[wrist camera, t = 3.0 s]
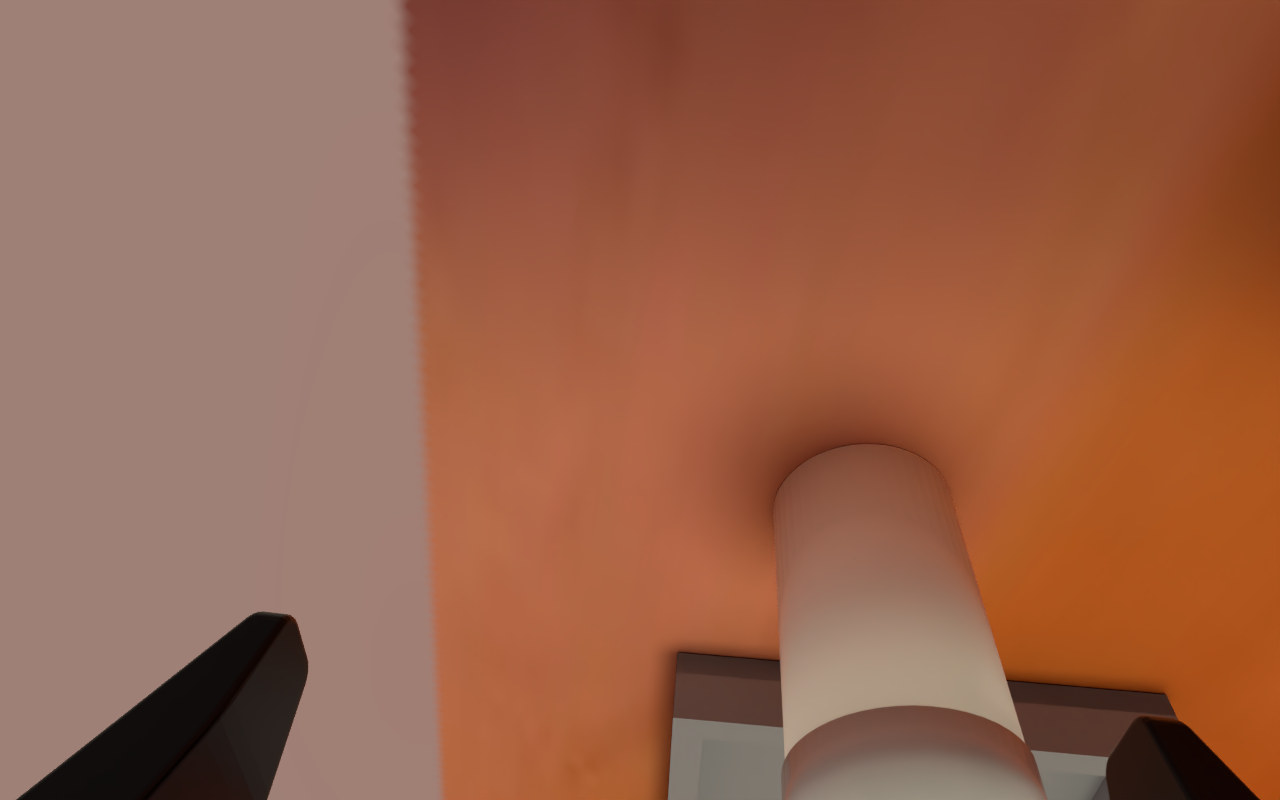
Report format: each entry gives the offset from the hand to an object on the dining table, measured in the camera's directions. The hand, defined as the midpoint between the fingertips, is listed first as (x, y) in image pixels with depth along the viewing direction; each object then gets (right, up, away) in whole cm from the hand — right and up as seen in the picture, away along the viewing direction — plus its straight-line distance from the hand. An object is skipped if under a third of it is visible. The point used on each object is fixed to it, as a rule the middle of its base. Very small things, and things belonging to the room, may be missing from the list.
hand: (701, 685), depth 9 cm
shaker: (+6, 0, +15) cm, 16 cm away
